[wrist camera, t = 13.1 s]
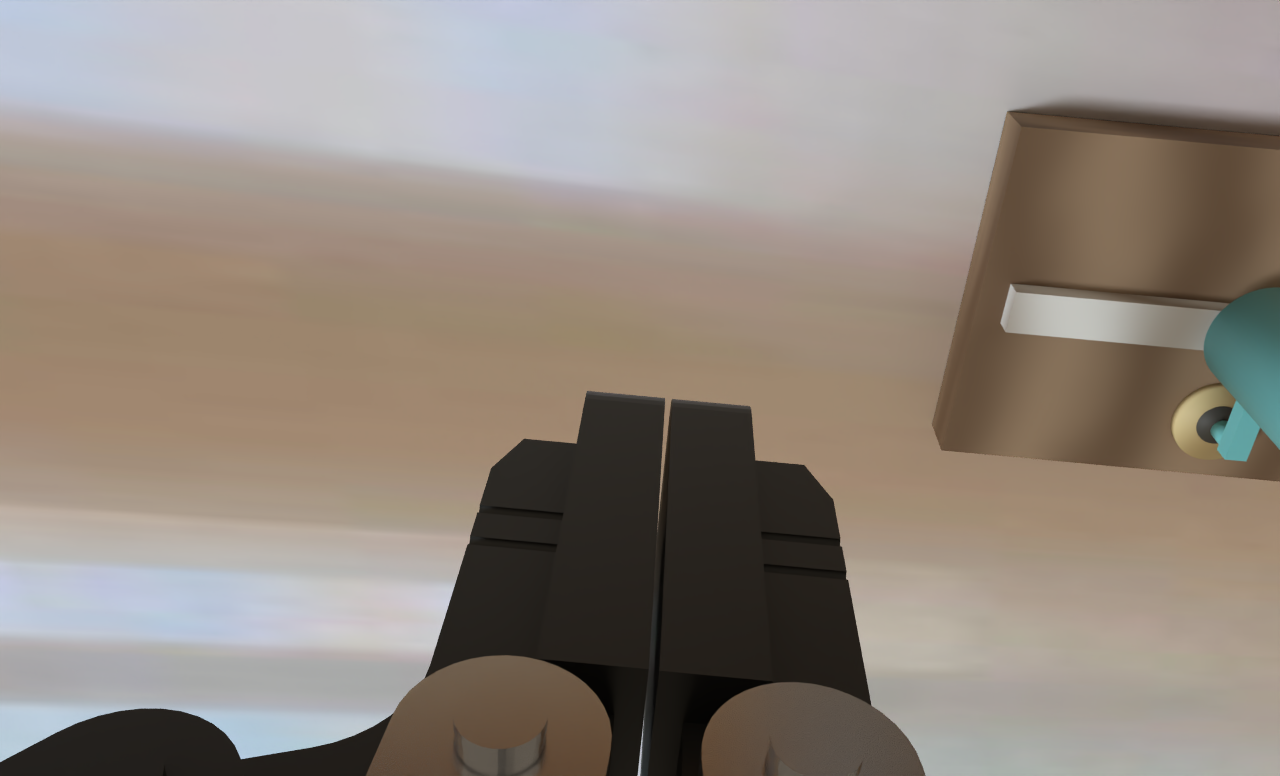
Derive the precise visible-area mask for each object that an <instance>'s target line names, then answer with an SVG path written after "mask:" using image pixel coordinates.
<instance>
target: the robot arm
mask: <svg viewBox="0 0 1280 776" xmlns="http://www.w3.org/2000/svg"><path fill="white" fill-rule="evenodd" d="M664 409H665V398H657V397H647V396H636V395H625V394H614V393H603V392H592V391H587V393H586V398H585V403H584V408H583V413H582V418H581V424H580V429H579V434H578V439H577V444H574V443H563V442H552V441H542V440H531V439H523V440H522V441H521V442H520V443H519V444H518V445H517V446H516V447H514V448H513V449H512V450H511V451H510V452H509V453H508V454H507V455H506V456H504V457H503V458H502V459H501V460H500V461H499V462H498V463H497V464H495V465H494V466H493V467H492V468H491V471H490V474H489V477H488V481H487V484H486V487H485V490H484V493H483V497H482V500H481V503H480V510H479V513H477V516H476V519H475V522H474V526H473V529H472V532H471V535H470V543H469V544H468V545H467V548H466V551H465V555H464V558H463V561H462V564H461V568H460V571H459V574H458V577H457V581H456V584H455V587H454V590H453V593H452V597H451V600H450V603H449V606H448V610H447V613H446V616H445V619H444V622H443V626H442V629H441V632H440V635H439V639H438V642H437V645H436V648H435V651H434V655H433V658H432V661H431V664H430V667H429V669H428V672H427V674H426V676H425V679H423V680H422V681H421V682H419V683H418V684H417V685H416V686H415V687H414V688H412V689H411V690H410V691H409V692H408V693H407V695H406V696H405V697H404V698H403V699H402V701H401V702H400V703H399V705H398V706H397V708H396V710H395V712H394V713H393V714H392V715H391V716H389V717H388V718H386V719H385V720H383V721H381V722H380V723H378V724H377V725H375V726H373V727H371V728H369V729H367V730H365V731H363V732H361V733H359V734H357V735H354V736H352V737H349V738H346V739H343V740H340V741H337V742H334V743H330V744H325V745H321V746H316V747H312V748H306V749H300V750H294V751H288V752H282V753H276V754H270V755H264V756H258V757H252V758H246V759H240V756H239V754H238V752H237V750H236V747H235V745H234V744H233V743H232V741H231V740H230V739H229V738H228V736H227V735H226V734H225V733H224V732H223V731H221V730H220V729H219V728H217V727H216V726H215V725H214V724H212V723H210V722H208V721H206V720H204V719H202V718H200V717H198V716H195V715H191V714H188V713H185V712H181V711H174V710H167V709H134V710H125V711H118V712H114V713H110V714H105V715H101V716H97V717H94V718H91V719H88V720H85V721H82V722H79V723H77V724H74V725H72V726H70V727H68V728H66V729H64V730H61V731H59V732H57V733H55V734H53V735H51V736H49V737H47V738H45V739H44V740H42V741H40V742H38V743H36V744H34V745H32V746H30V747H28V748H26V749H25V750H23V751H21V752H19V753H17V754H15V755H13V756H11V757H9V758H7V759H6V760H4V761H2V762H0V776H637V775H638V765H639V756H640V747H641V738H642V729H643V742H642V758H641V774H640V776H925V773H924V770H923V767H922V764H921V762H920V759H919V757H918V755H917V752H916V751H915V749H914V747H913V746H912V744H911V743H910V741H909V740H908V738H907V737H906V736H905V735H904V733H903V732H902V731H901V730H900V729H899V728H898V727H897V726H896V725H895V724H894V723H893V722H892V721H891V720H890V719H889V718H887V717H886V716H885V715H884V714H883V713H881V712H880V711H878V710H877V709H875V708H874V707H872V706H871V701H870V695H869V690H868V685H867V679H866V674H865V668H864V663H863V658H862V652H861V647H860V642H859V636H858V631H857V625H856V620H855V615H854V609H853V604H852V598H851V593H850V588H849V582H848V580H846V566H845V561H844V555H843V550H842V547H841V546H840V534H839V528H838V523H837V518H836V512H835V507H834V502H833V499H832V498H831V497H830V496H829V494H828V493H827V492H826V491H825V490H824V488H823V487H822V486H821V485H820V484H819V482H818V481H817V480H816V479H815V478H814V476H813V475H812V474H811V473H810V472H809V470H808V469H807V468H806V467H805V466H804V465H798V464H788V463H777V462H766V461H755V451H754V438H753V426H752V414H751V408H750V406H741V405H731V404H720V403H709V402H698V401H687V400H676V399H672V401H671V408H670V416H669V426H668V435H667V445H666V454H665V464H664V473H663V483H662V492H661V502H660V511H659V521H658V509H659V493H660V476H661V459H662V443H663V426H664ZM657 526H658V530H657ZM643 719H644V726H643Z"/></svg>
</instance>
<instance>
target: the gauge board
mask: <svg viewBox="0 0 1280 776" xmlns="http://www.w3.org/2000/svg"><path fill="white" fill-rule="evenodd" d="M1273 287H1278V288H1280V136H1272V135H1261V134H1250V133H1239V132H1228V131H1217V130H1206V129H1195V128H1184V127H1173V126H1161V125H1150V124H1139V123H1128V122H1117V121H1106V120H1095V119H1084V118H1073V117H1062V116H1051V115H1040V114H1029V113H1017V112H1007V114H1006V119H1005V123H1004V127H1003V131H1002V135H1001V139H1000V144H999V148H998V152H997V156H996V160H995V165H994V169H993V173H992V177H991V181H990V185H989V190H988V194H987V198H986V202H985V206H984V210H983V215H982V219H981V223H980V227H979V231H978V236H977V240H976V244H975V248H974V252H973V256H972V261H971V265H970V269H969V273H968V277H967V281H966V286H965V290H964V294H963V298H962V302H961V307H960V311H959V315H958V319H957V323H956V327H955V332H954V336H953V340H952V344H951V348H950V352H949V357H948V361H947V365H946V369H945V373H944V377H943V382H942V386H941V390H940V394H939V398H938V403H937V407H936V411H935V415H934V419H933V423H932V426H933V428H934V431H935V434H936V437H937V439H938V442H939V445H940V448H941V450H944V451H955V452H966V453H977V454H988V455H999V456H1009V457H1020V458H1031V459H1042V460H1053V461H1064V462H1075V463H1085V464H1096V465H1107V466H1118V467H1129V468H1140V469H1150V470H1161V471H1172V472H1183V473H1194V474H1205V475H1216V476H1226V477H1237V478H1248V479H1259V480H1270V481H1280V450H1279V448H1278V447H1277V446H1276V445H1275V444H1274V443H1273V442H1272V440H1271V439H1270V438H1269V437H1268V436H1267V435H1266V434H1265V432H1264V431H1263V430H1262V429H1261V428H1260V429H1259V432H1258V434H1257V437H1256V439H1255V441H1254V444H1253V446H1252V449H1251V451H1250V454H1249V456H1248V459H1247V461H1235V460H1225V459H1224V458H1223V457H1222V455H1221V454H1220V453H1219V452H1218V450H1217V448H1218V445H1219V444H1218V443H1217V441H1216V440H1215V439H1214V438H1213V436H1212V435H1211V428H1212V426H1213V425H1214V424H1215V423H1217V422H1219V421H1228V419H1229V417H1230V414H1231V412H1232V409H1233V407H1234V404H1235V402H1236V399H1235V398H1234V397H1233V396H1232V395H1231V394H1230V393H1229V391H1228V390H1227V389H1226V388H1225V387H1224V386H1223V385H1222V383H1221V382H1220V381H1219V380H1218V379H1217V378H1216V377H1215V375H1214V374H1213V373H1212V372H1211V371H1210V369H1209V367H1208V366H1207V364H1206V361H1205V357H1204V341H1205V337H1206V333H1207V331H1208V329H1209V327H1210V325H1211V323H1212V322H1213V320H1214V319H1215V318H1216V316H1217V315H1218V314H1219V313H1220V312H1221V311H1222V310H1223V309H1224V308H1225V307H1226V306H1227V305H1229V304H1230V303H1231V302H1233V301H1234V300H1236V299H1237V298H1239V297H1241V296H1243V295H1245V294H1247V293H1250V292H1253V291H1256V290H1259V289H1264V288H1273Z"/></svg>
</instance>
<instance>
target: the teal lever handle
mask: <svg viewBox="0 0 1280 776" xmlns="http://www.w3.org/2000/svg"><path fill="white" fill-rule="evenodd" d="M1204 357H1205V361H1206V364H1207V366H1208V367H1209V369H1210V371H1211V372H1212V373H1213V374H1214V375H1215V377H1216V378H1217V379H1218V380H1219V381H1220V382H1221V383H1222V385H1223V386H1224V387H1225V388H1226V389H1227V390H1228V391H1229V393H1230V394H1231V395H1232V396H1233V397H1234V398H1235V399H1236V402H1235V404H1234V407H1233V409H1232V412H1231V414H1230V417H1229V419H1228V421H1219V422H1217V423H1215V424H1214V425H1213V426H1212V428H1211V435H1212V436H1213V438H1214V439H1215V440H1216V441H1217V443H1218V444H1219V445H1218V448H1217V450H1218V452H1219V453H1220V454H1221V455H1222V457H1223V458H1224V459H1225V460H1235V461H1247V459H1248V456H1249V454H1250V451H1251V449H1252V446H1253V444H1254V441H1255V439H1256V437H1257V434H1258V432H1259V429H1260V428H1261V429H1262V430H1263V431H1264V432H1265V434H1266V435H1267V436H1268V437H1269V438H1270V439H1271V440H1272V442H1273V443H1274V444H1275V445H1276V446H1277V447H1278V448H1279V450H1280V288H1278V287H1273V288H1264V289H1259V290H1256V291H1253V292H1250V293H1247V294H1245V295H1243V296H1241V297H1239V298H1237V299H1236V300H1234V301H1233V302H1231V303H1230V304H1229V305H1227V306H1226V307H1225V308H1224V309H1223V310H1222V311H1221V312H1220V313H1219V314H1218V315H1217V316H1216V318H1215V319H1214V320H1213V322H1212V323H1211V325H1210V327H1209V329H1208V331H1207V333H1206V337H1205V341H1204Z"/></svg>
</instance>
